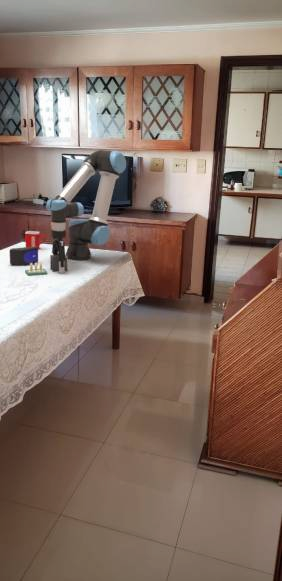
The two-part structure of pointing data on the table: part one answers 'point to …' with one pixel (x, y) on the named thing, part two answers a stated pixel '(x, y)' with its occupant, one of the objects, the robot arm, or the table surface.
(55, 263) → the gray orange-striped box
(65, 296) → the table surface
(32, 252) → the computer mouse
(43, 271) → the header
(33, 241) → the mug
